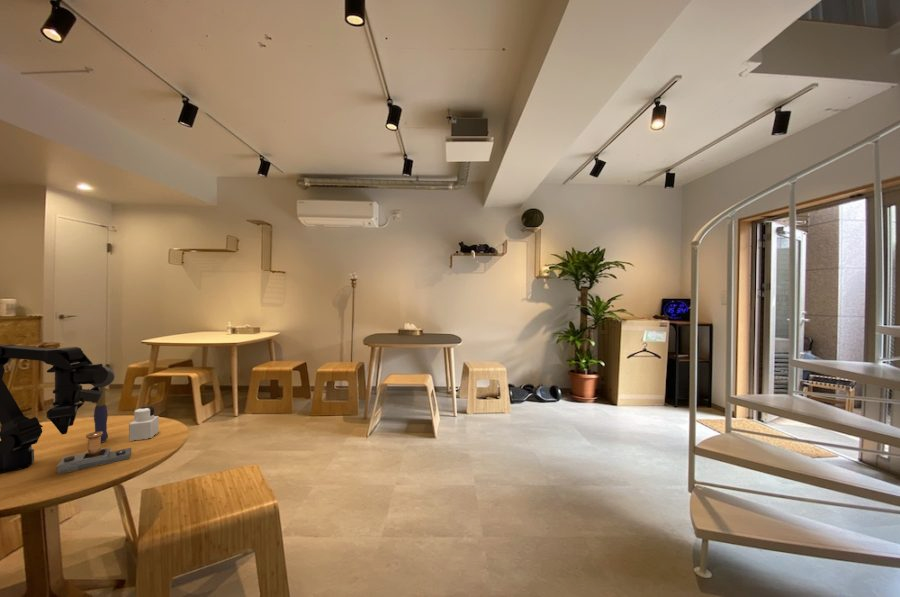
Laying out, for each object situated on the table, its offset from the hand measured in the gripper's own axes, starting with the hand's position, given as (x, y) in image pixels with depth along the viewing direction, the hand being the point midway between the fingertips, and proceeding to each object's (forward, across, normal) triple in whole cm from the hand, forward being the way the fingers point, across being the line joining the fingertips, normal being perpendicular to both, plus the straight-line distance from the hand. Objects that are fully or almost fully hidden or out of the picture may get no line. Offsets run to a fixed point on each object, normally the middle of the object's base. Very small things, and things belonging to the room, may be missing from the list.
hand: (67, 429), depth 116 cm
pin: (+12, -4, -7) cm, 14 cm away
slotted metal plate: (+12, -4, -7) cm, 14 cm away
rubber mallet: (+12, +18, -6) cm, 23 cm away
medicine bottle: (+12, +14, -19) cm, 27 cm away
